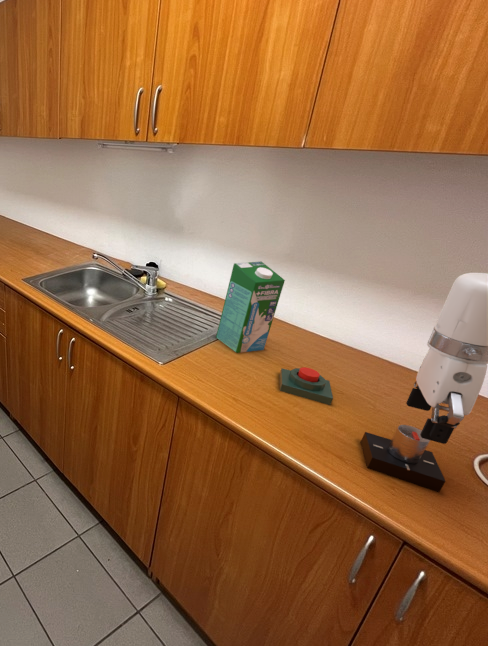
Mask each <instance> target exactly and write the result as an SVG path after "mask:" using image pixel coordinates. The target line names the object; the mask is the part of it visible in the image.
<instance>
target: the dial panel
mask: <svg viewBox="0 0 488 646" xmlns="http://www.w3.org/2000/svg"><path fill="white" fill-rule="evenodd" d="M391 440H392V438H391V439H390V438H387V437H384V436H380V435H377V434H375V433H370V432H368V431H365V432H364V433H363V436H362V437H361V440H360V442H359V443H360V447H361V451H362V454H363V458H364V463H365V465H366V468H367V469H369V470H371V471H374V472H377V473H379V474H383V475H386V476H389V477H392V478H395V479H398V480H401V481H404V482H407V483H410V484H413V485H416V486H419V487H422V488H424V489H426V490H430V491H433V492H436V493H440V491H441V490H442V488H443V486H444V485H445V483H446V479H445V477H444V475H443V473H442V469H441V468H440V466H439V464H438V462H437V460H436V458H435V455H434V453H433V451H430V450H427V449H425V451H424V453H423V454H422V456H421V458H420V460H419V462H418V463H415V464H412V463H407V462H404V461H401V460H399V459H397V458H396V457H394V456H393V455H391V454H390V453H389V451H388V449H387V448H388V446H389V444H390V442H391Z"/></svg>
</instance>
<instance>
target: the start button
mask: <svg viewBox="0 0 488 646" xmlns="http://www.w3.org/2000/svg"><path fill="white" fill-rule="evenodd" d="M299 368H300V370H299V373H298V376H299V377H300V378H302V379H304V380H306V381H309V382H317V381H318V379H319V376H320V375H321V374H320V372H319V371H317V370H316V369H313V368H311V367H307V366H306V367H303V366H302V367H299Z"/></svg>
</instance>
